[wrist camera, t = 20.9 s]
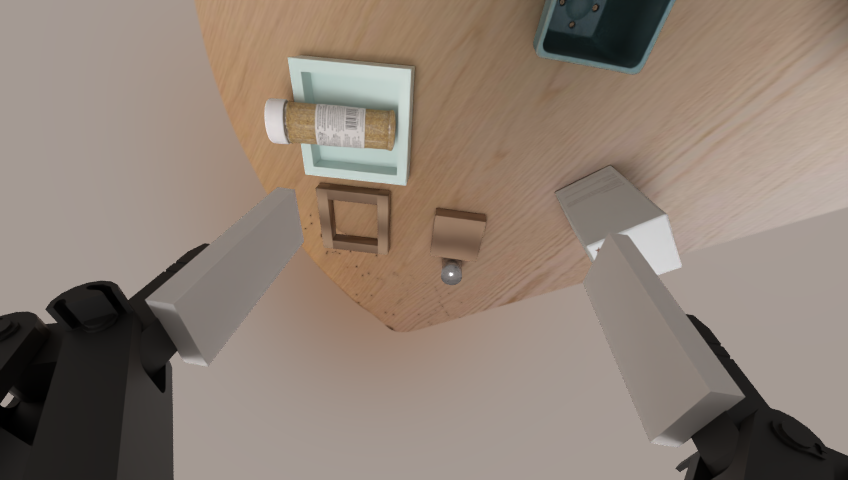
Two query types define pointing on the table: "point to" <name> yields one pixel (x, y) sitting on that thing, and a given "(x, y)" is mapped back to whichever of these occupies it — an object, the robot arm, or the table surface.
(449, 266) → the bench dog
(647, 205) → the supplement box
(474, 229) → the square wooden coaster
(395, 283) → the table surface
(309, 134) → the sprinkles bottle
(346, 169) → the tray
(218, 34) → the table surface
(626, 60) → the flower pot
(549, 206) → the table surface
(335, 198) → the socket block
